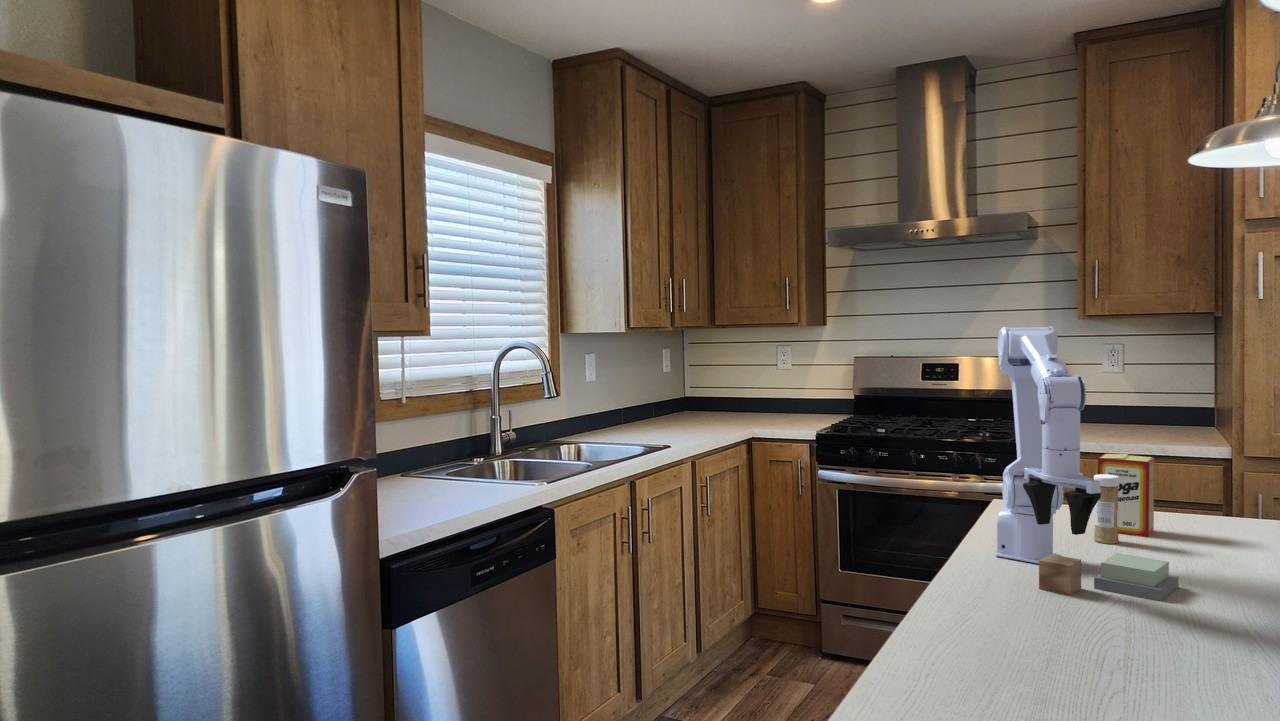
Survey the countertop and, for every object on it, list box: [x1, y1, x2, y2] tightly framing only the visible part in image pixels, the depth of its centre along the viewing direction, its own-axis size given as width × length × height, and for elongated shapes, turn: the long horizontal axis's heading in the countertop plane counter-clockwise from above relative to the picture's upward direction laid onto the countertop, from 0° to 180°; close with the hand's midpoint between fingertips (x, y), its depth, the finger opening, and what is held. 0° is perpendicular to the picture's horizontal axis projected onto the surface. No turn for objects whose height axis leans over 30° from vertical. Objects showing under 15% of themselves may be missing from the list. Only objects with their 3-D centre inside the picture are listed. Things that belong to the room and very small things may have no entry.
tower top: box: [1100, 552, 1170, 587], centre depth 149 cm, size 8×8×2 cm
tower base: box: [1093, 573, 1179, 602], centre depth 149 cm, size 10×10×2 cm
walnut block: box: [1038, 554, 1082, 596], centre depth 149 cm, size 5×5×5 cm
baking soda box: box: [1097, 453, 1155, 538], centre depth 188 cm, size 10×6×16 cm
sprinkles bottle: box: [1093, 473, 1120, 545], centre depth 179 cm, size 5×5×13 cm
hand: (1060, 528), depth 149 cm, fingers open, 7 cm apart
